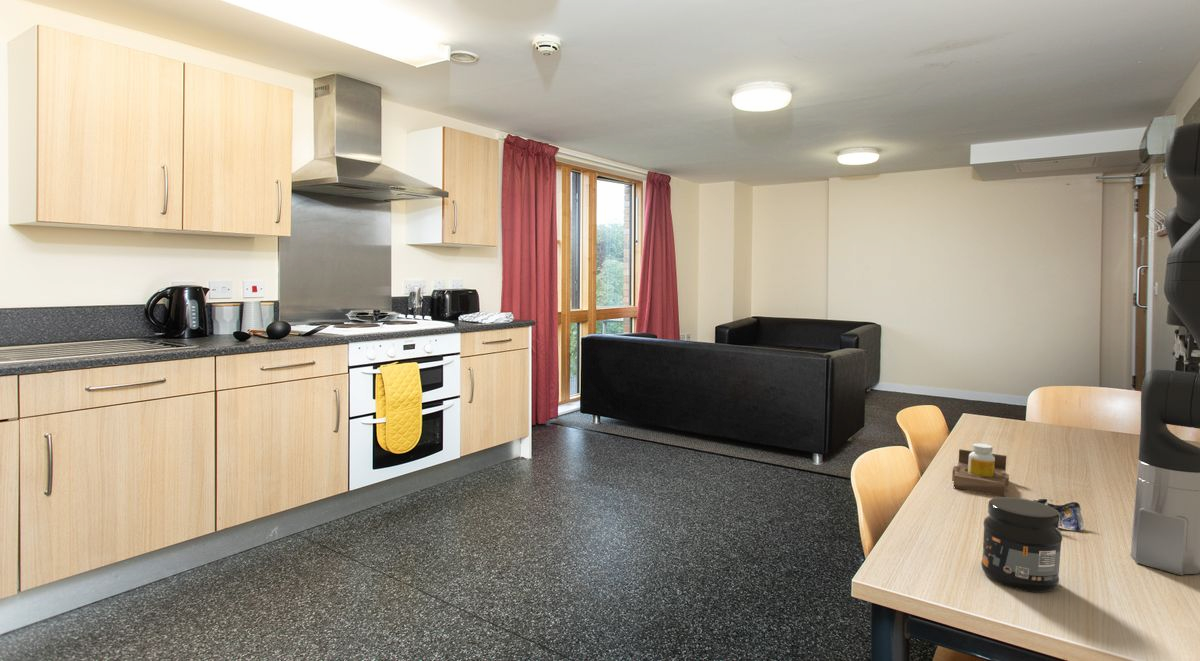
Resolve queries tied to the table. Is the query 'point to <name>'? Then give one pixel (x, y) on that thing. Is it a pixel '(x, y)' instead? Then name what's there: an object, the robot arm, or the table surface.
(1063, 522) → the snack package
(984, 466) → the supplement bottle
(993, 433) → the table surface
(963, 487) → the brown bottle holder
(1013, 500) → the supplement container
